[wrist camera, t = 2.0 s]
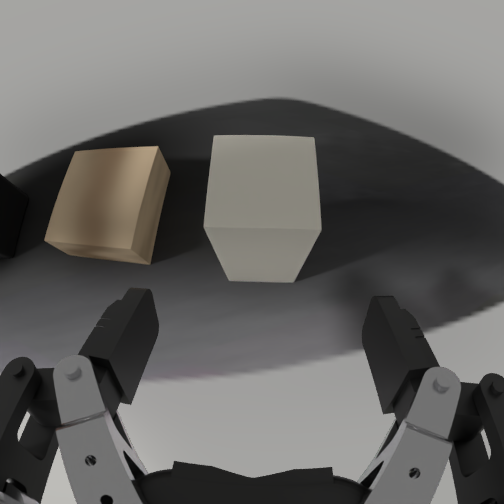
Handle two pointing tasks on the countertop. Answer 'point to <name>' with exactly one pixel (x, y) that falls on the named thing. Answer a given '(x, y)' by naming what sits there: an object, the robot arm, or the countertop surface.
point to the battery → (10, 216)
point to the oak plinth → (110, 204)
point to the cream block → (262, 205)
